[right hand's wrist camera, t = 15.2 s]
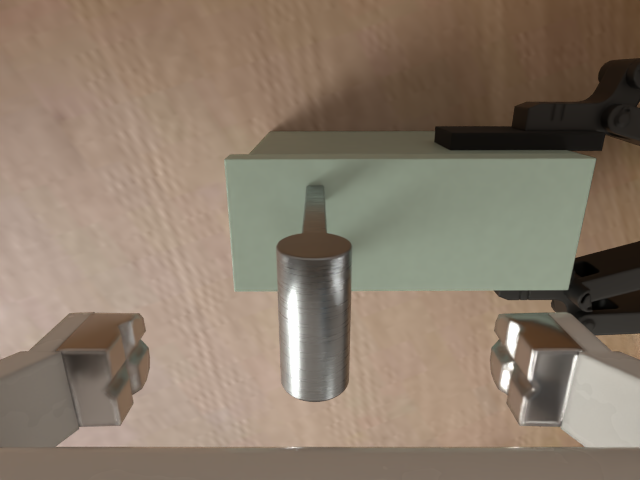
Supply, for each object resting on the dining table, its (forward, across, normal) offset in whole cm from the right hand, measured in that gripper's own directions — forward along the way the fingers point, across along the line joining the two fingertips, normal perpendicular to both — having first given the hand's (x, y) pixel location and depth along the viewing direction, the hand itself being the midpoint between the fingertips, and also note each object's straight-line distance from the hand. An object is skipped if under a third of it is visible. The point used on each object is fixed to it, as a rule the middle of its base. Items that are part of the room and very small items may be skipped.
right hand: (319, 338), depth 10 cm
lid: (+9, +3, 0) cm, 10 cm away
